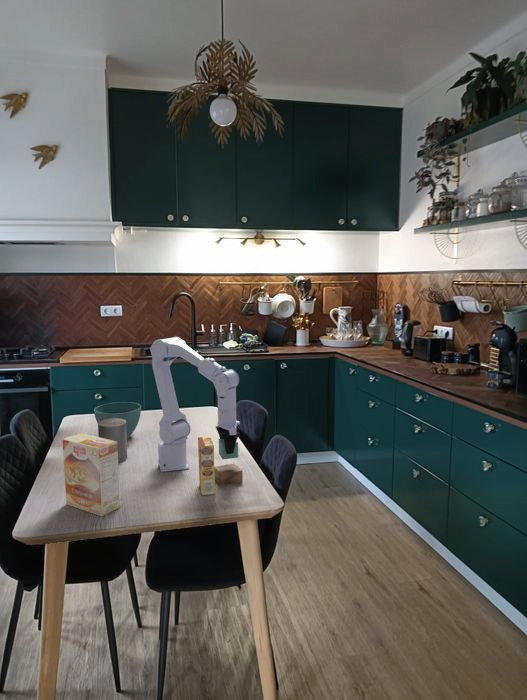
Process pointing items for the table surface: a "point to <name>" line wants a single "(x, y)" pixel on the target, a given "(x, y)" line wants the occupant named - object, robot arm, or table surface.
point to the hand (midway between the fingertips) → (227, 450)
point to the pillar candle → (115, 435)
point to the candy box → (206, 465)
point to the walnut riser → (228, 474)
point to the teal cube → (223, 452)
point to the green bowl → (120, 414)
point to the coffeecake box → (91, 473)
